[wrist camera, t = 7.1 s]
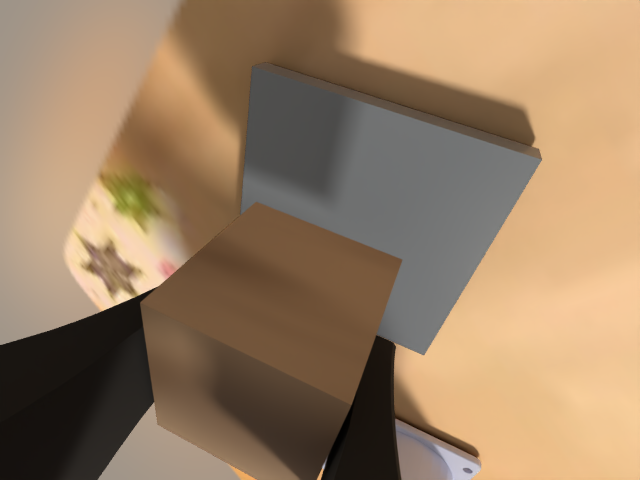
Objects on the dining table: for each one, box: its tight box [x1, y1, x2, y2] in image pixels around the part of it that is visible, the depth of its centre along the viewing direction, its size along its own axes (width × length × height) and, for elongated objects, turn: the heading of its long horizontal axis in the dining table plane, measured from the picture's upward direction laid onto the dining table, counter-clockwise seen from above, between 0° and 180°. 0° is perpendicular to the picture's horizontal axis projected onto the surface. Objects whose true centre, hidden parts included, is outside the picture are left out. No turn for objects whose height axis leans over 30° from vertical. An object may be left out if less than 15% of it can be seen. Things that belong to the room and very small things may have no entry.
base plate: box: [240, 62, 542, 355], centre depth 16 cm, size 10×10×1 cm
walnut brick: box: [140, 202, 402, 480], centre depth 10 cm, size 5×4×5 cm
